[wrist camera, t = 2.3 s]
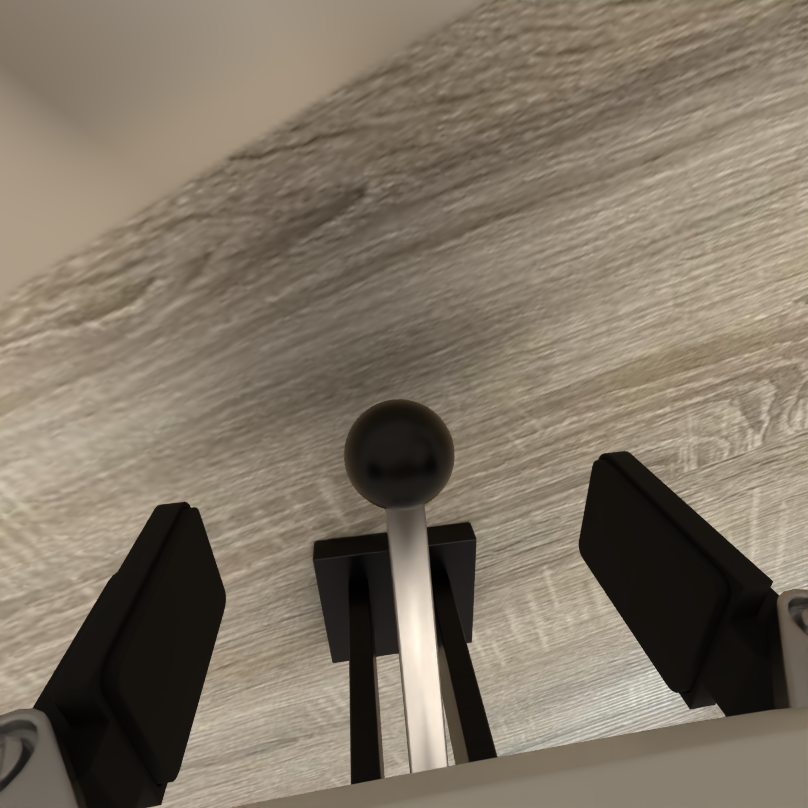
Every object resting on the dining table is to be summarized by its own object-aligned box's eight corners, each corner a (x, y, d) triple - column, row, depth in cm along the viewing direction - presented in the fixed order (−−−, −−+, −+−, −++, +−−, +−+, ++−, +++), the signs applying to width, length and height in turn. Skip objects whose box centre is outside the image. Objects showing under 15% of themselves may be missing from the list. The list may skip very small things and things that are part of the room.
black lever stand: (313, 541, 22) (276, 1007, 9) (470, 522, 22) (625, 929, 10) (332, 643, 25) (323, 1075, 13) (466, 624, 26) (577, 1015, 14)
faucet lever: (341, 403, 14) (335, 406, 11) (438, 394, 14) (460, 394, 11) (390, 903, 15) (397, 1046, 11) (482, 884, 15) (515, 1019, 12)
